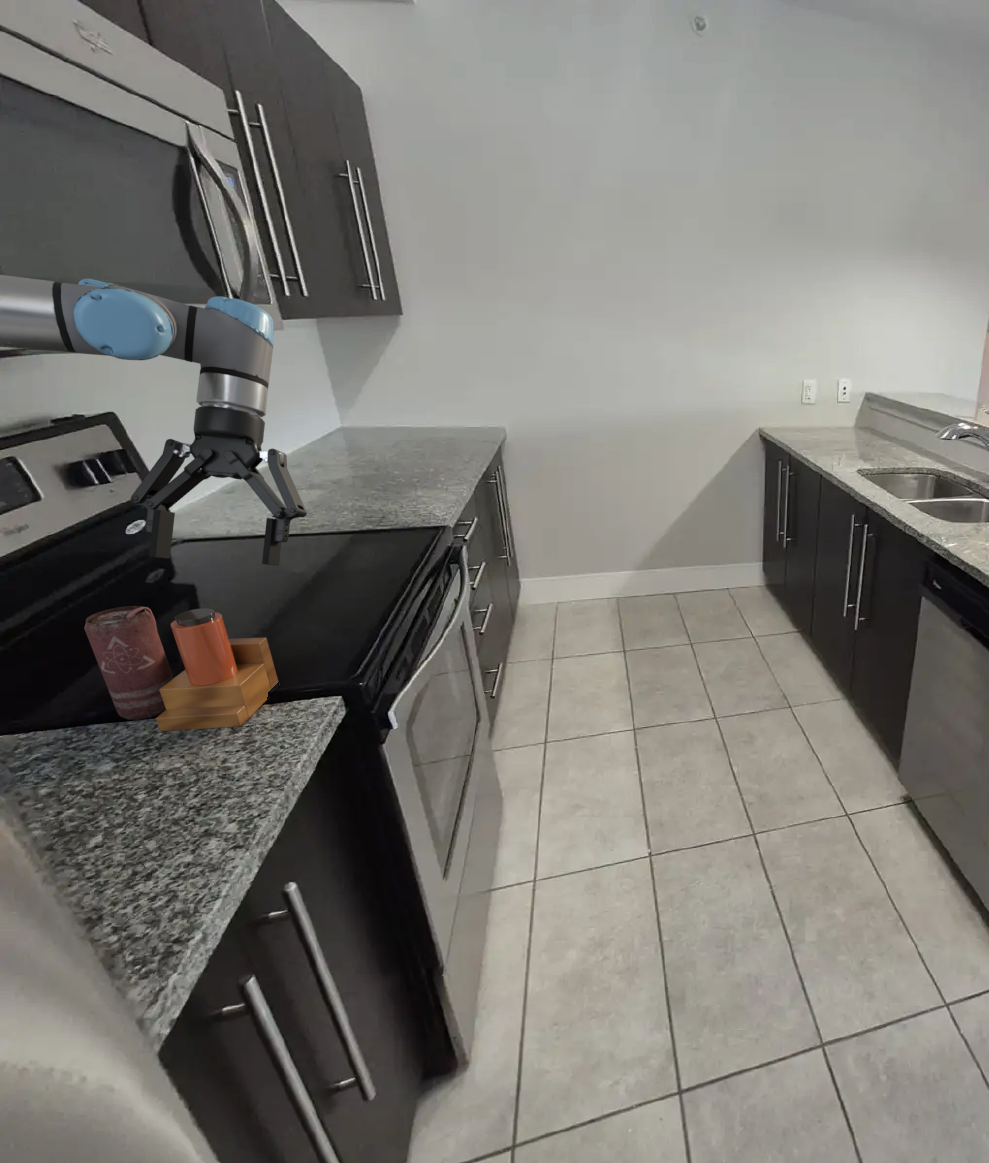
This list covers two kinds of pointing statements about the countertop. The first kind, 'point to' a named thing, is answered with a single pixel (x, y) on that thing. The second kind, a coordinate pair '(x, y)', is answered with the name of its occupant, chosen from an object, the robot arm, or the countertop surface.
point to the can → (130, 659)
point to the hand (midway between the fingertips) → (215, 561)
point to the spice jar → (204, 646)
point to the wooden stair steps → (221, 692)
